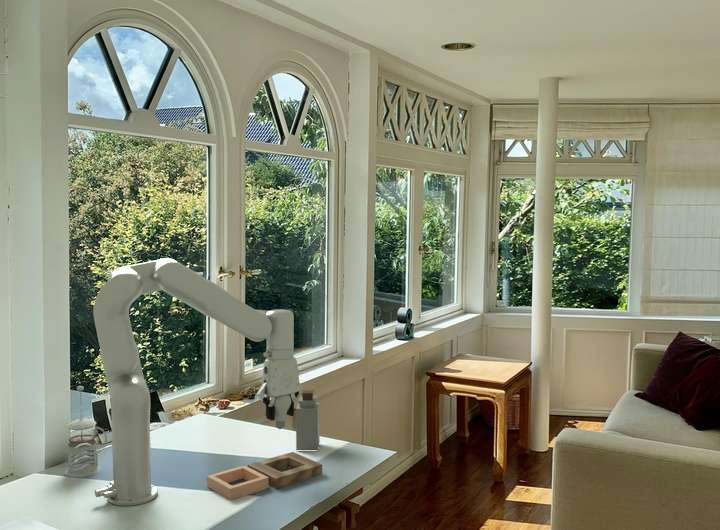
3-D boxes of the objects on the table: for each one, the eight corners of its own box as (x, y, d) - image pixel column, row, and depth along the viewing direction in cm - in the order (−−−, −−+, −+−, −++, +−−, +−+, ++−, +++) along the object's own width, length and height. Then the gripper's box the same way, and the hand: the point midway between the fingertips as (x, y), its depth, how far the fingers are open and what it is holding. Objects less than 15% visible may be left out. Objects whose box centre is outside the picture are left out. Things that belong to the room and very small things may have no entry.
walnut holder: (275, 489, 195) (275, 478, 195) (247, 474, 206) (247, 464, 205) (322, 474, 206) (322, 464, 206) (293, 461, 216) (293, 451, 216)
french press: (63, 468, 211) (60, 384, 209) (104, 461, 216) (102, 379, 214) (66, 479, 202) (63, 391, 200) (109, 472, 208) (107, 387, 205)
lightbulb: (280, 433, 200) (280, 394, 199) (264, 429, 203) (264, 391, 202) (295, 428, 204) (295, 390, 204) (279, 424, 208) (279, 386, 207)
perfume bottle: (317, 451, 225) (317, 394, 224) (296, 451, 226) (295, 394, 224) (319, 444, 232) (319, 389, 231) (298, 444, 232) (298, 389, 231)
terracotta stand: (230, 500, 188) (230, 488, 188) (207, 486, 197) (206, 475, 197) (268, 488, 196) (268, 477, 196) (244, 475, 205) (244, 465, 205)
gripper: (261, 360, 194) (262, 426, 195) (312, 352, 205) (312, 414, 207) (246, 355, 199) (246, 420, 201) (296, 348, 211) (296, 409, 212)
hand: (280, 416), depth 204 cm, fingers closed on lightbulb, 5 cm apart
